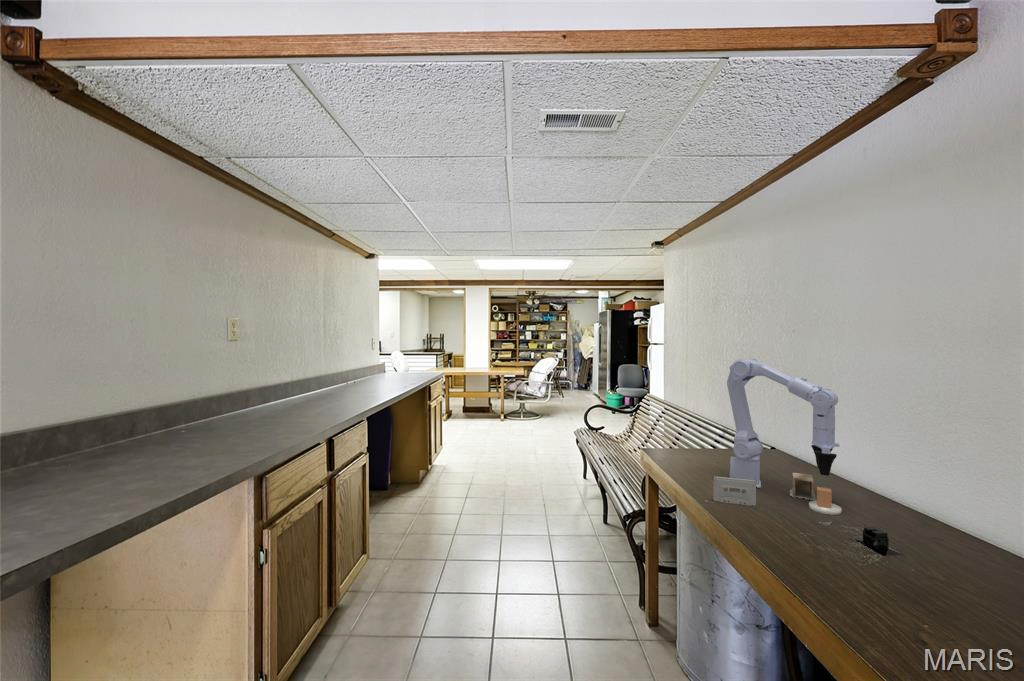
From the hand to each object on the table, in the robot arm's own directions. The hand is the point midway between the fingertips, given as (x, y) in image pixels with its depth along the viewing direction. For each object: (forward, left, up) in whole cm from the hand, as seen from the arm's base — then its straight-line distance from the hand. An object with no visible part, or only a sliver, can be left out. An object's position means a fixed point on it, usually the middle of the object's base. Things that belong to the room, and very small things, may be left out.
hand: (823, 471), depth 138 cm
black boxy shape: (+8, -28, -11) cm, 31 cm away
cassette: (-24, -14, -10) cm, 30 cm away
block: (0, -6, -9) cm, 11 cm away
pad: (-5, +5, -10) cm, 12 cm away
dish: (0, -6, -10) cm, 12 cm away
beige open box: (-5, +5, -10) cm, 12 cm away
